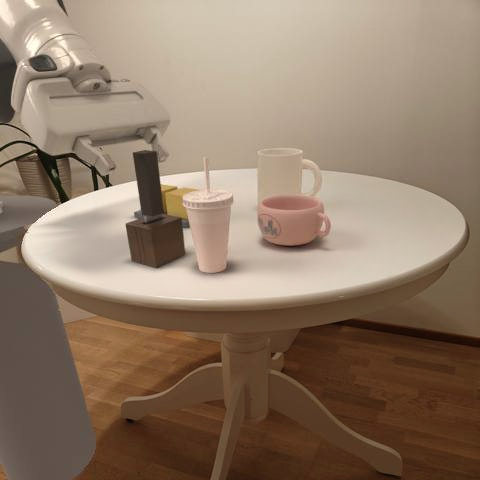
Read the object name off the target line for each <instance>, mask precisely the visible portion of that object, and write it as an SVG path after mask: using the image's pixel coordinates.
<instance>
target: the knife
mask: <svg viewBox="0 0 480 480" xmlns="http://www.w3.org/2000/svg"><path fill="white" fill-rule="evenodd" d="M132 159H133V165H134V172H135V173H134V174H135V179H136V186H137V192H138V199H139V204H140V205H139V206H140V210H141V213H142V215H147V216H144V219H145V225H147V224H150V223H153V222H155V221H158V220H161V219H163V218H162V213H164V208H163V199H162V191H161V184H162V182H161V175H160V168H159V163H158V158H157V151H152V150H149V149H144V150H143V149H142V150H139V151H134V152H132Z"/></svg>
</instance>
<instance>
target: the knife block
mask: <svg viewBox="0 0 480 480" xmlns="http://www.w3.org/2000/svg"><path fill="white" fill-rule="evenodd" d="M162 218H163V219H161V220H158V221H155V222H153V223H150V224H147V225H145V219H144V217H143V218H136V219H134V220H131V221H128V222H126V223H124V224H125V229H126V237H127V241H128V242H127V243H128V248H129V253H130V259H131V262H133V263H136V264H137V263H138V264H142V265H145V266H148V267H150V268H151V267H152V268H154V269H158V268H160V267H161V266H164V265H166V264H167V263H170V262H172V261H174V260H176V259H179V258H181V257H183V256H185V255H186V248H185V247H186V246H185V238H184V237H185V236H184V227H183V225H182V218H181V217H176V216H171V215H166V214H162Z"/></svg>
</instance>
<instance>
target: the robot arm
mask: <svg viewBox="0 0 480 480" xmlns="http://www.w3.org/2000/svg"><path fill="white" fill-rule="evenodd" d="M0 123H1V124H6V125H7V124H8V125H22V126H23V128H24V130H25V131H26V133H27V134H28V136H29V137H30V138H31V141H33V143H34V144H35V146H36V147H37V148H38V149H39V150H40V151H42V152H44V153H45V154H47V155H49V156H51V157H52V156H53V157H55V156H60V155H64V154H70V153H71V154H72V153H74V154H75V155H76V157H78V158H79V159H80V160H82V161H84V162H86V163H87V164H89V165H91V166H92V167H94V168H95V169H96V170H97V171H98V173H99V174H100V176H102V177H103V176H106V175H111V174H114V172H115V170H116V168H117V165H116V163H115V161H114V160H112V157H111V156H110V155H109V154H102V153H101V152H100V151H99V150H97V149H101V148H106V147H112V146H117V145H122V144H123V145H124V144H129V143H136V142H141V141H144V142H145V143H146V145H150V146H151V151H157V158H158V164H161V163H164V162H166V161H167V160H168V158H169V155H170V153H169V151H168V150H167V148H166V147H165V145H163V144H164V143H163V138H162V137H163V136H164V135H165V133H166V131H167V130H168V128H169V126H170V125H171V116H170V112H168V110H167V108H165V107H164V106H163V105H162V103H161V102H160V101H159V100H158V98H156V97H155V96H154V94H153V93H152V92H151V91H150V90H148V89H147V88H146V87H145V86H144V85H143V84H141V83H140V82H136V81H131V80H130V79H128V78H123V79H112V75H111V72H110V70H109V69H108V67H107V66H106V65H105V64H104V62H103V61H102V59H101V58H100V57H99V56H98V54H97V53H96V52H95V50H94V49H93V48H92V47H91V45H90V44H89V42H88V41H87V40H86V39H85V38H84V37H83V36H82V35H81V34H80V33H78V32H77V31H76V30H75V28H74V26H73V24H72V21H71V20H70V18H69V15H68V13H67V9H66V7H65V3H64V1H63V0H0ZM3 206H4V204H3V202H2V201H0V214H1V213H2V212H3V209H2V207H3Z"/></svg>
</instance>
